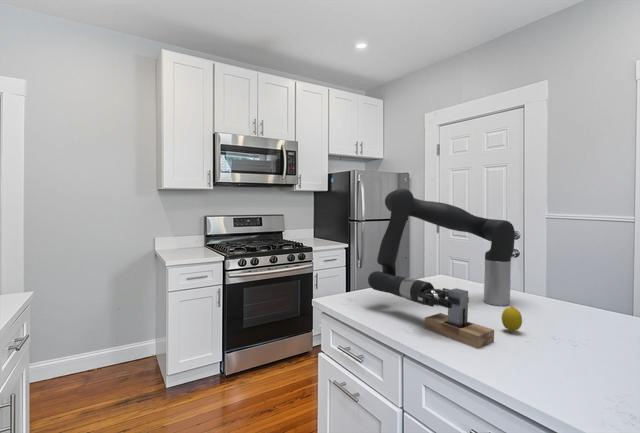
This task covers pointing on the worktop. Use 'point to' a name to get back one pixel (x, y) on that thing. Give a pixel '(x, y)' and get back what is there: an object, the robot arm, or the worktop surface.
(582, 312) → the worktop surface
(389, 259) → the robot arm
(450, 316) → the block
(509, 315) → the lemon
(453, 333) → the wooden slotted base
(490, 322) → the worktop surface
